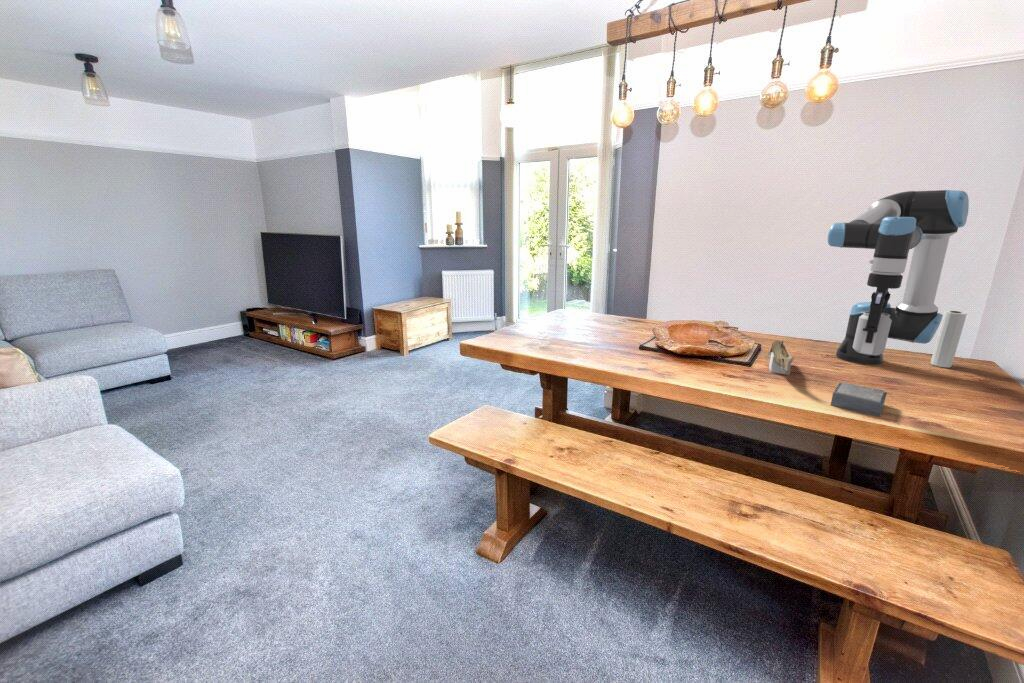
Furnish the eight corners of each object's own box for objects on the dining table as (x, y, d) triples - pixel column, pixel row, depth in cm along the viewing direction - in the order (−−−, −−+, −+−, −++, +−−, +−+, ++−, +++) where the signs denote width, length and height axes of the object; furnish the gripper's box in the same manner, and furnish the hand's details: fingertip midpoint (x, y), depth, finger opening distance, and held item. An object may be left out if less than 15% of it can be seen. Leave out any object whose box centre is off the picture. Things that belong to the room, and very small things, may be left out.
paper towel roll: (939, 367, 173) (955, 313, 167) (926, 362, 179) (940, 309, 173) (958, 368, 173) (975, 313, 167) (944, 363, 178) (959, 310, 173)
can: (851, 347, 139) (860, 309, 136) (882, 351, 135) (892, 312, 132) (851, 352, 133) (860, 313, 130) (884, 357, 129) (894, 316, 126)
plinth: (837, 394, 147) (840, 380, 145) (884, 404, 139) (887, 390, 138) (830, 405, 138) (833, 391, 137) (880, 416, 130) (883, 402, 129)
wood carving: (770, 386, 152) (776, 355, 149) (761, 357, 183) (766, 331, 180) (801, 391, 149) (807, 358, 146) (787, 360, 180) (792, 333, 177)
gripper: (874, 269, 137) (857, 341, 144) (864, 274, 123) (847, 354, 129) (906, 271, 133) (887, 346, 139) (900, 277, 118) (880, 360, 124)
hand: (868, 350), depth 134 cm, fingers closed on can, 7 cm apart
